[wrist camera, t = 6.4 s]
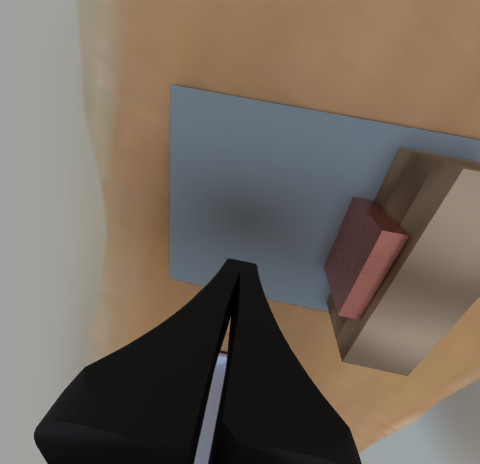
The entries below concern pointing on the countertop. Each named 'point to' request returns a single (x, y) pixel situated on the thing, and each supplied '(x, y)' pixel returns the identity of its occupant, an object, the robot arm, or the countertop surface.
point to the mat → (274, 186)
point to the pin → (361, 256)
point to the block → (419, 263)
